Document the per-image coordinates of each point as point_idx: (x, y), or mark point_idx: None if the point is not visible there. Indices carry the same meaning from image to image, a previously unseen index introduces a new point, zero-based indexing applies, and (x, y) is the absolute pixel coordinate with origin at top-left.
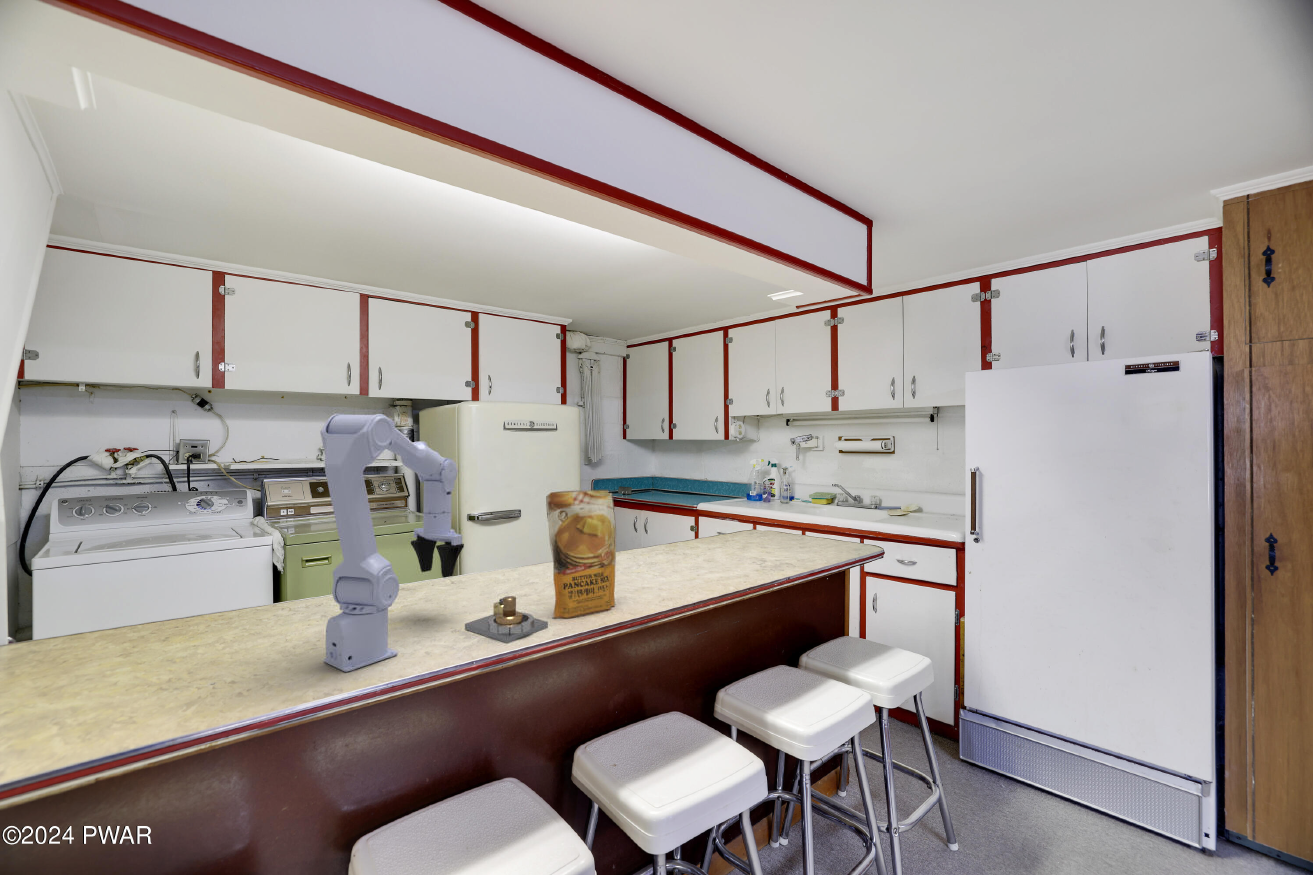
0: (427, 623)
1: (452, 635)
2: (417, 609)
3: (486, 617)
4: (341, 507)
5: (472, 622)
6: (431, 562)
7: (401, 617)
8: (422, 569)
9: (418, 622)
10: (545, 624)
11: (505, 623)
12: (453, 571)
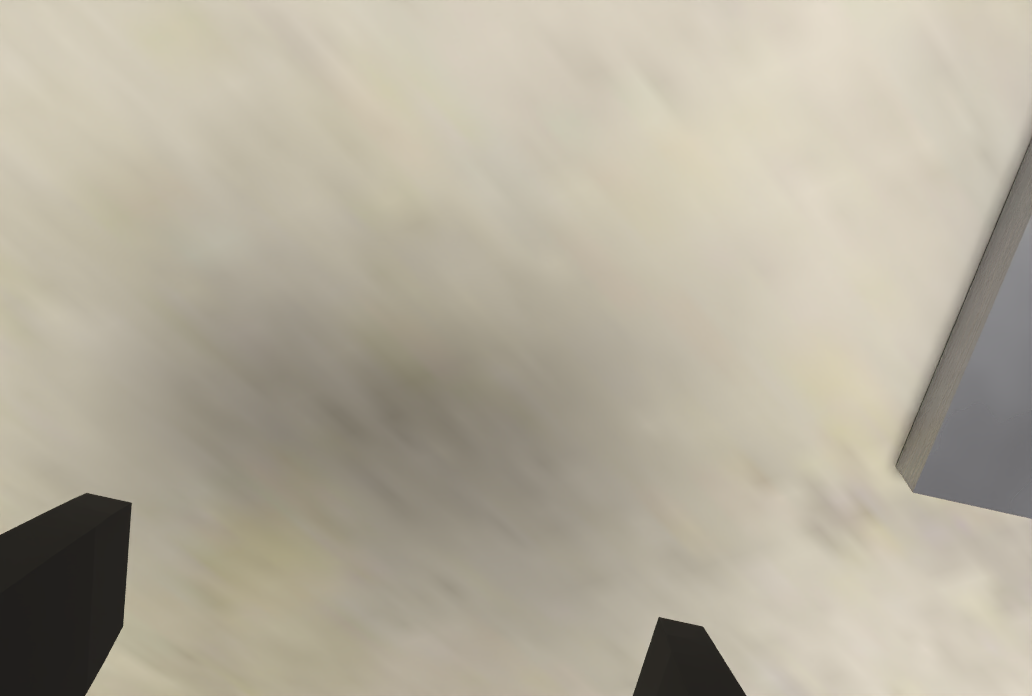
0: (486, 464)
1: (876, 595)
2: (82, 205)
3: (1028, 284)
4: None
5: (965, 444)
6: (56, 573)
7: (162, 431)
8: (99, 664)
9: (397, 472)
10: None
11: None
12: (723, 659)
